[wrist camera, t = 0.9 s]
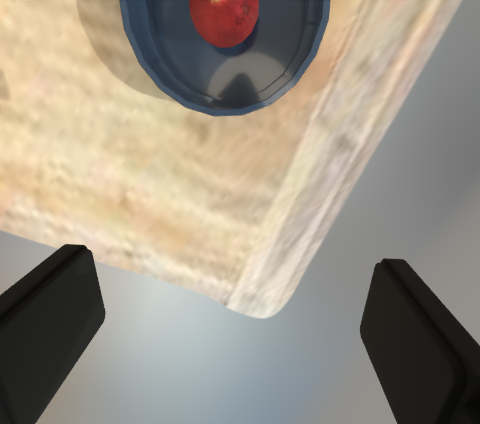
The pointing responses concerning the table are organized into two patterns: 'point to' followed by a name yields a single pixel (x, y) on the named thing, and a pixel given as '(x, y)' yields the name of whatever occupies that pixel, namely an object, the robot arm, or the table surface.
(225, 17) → the onion
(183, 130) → the table surface
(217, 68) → the bowl
